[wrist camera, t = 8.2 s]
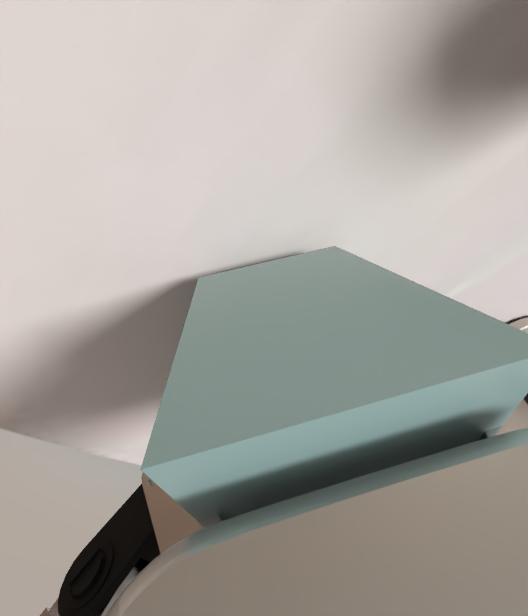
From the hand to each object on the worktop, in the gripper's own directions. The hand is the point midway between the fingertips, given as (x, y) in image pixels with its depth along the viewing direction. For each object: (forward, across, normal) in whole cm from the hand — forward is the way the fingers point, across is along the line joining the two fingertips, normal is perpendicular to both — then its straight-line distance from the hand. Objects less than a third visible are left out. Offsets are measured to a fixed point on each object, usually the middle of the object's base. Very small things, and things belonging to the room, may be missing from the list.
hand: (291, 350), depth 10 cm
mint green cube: (+3, 0, 0) cm, 3 cm away
